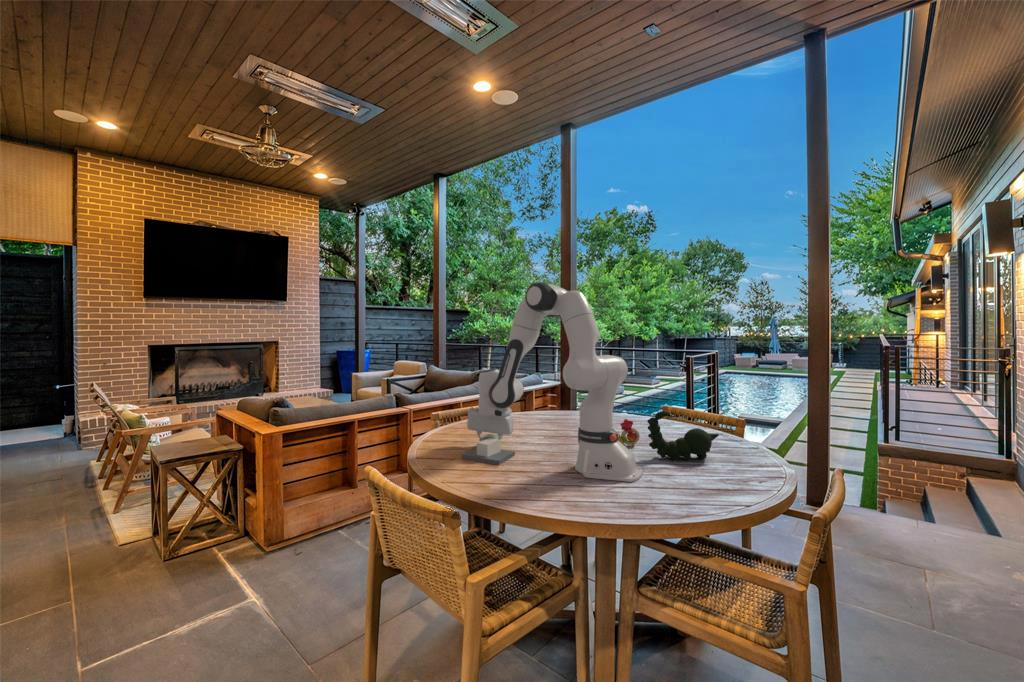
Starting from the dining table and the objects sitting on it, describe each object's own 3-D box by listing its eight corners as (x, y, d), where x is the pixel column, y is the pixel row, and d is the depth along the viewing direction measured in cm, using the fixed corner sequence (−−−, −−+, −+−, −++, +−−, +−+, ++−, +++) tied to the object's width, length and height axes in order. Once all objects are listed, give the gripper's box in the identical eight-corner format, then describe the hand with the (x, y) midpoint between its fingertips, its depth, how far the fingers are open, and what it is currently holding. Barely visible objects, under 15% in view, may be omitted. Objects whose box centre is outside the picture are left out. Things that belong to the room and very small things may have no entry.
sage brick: (498, 445, 183) (498, 434, 183) (493, 450, 175) (493, 439, 175) (486, 444, 184) (486, 433, 184) (481, 450, 176) (481, 439, 176)
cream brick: (500, 451, 169) (500, 439, 169) (487, 456, 162) (487, 444, 162) (489, 449, 172) (489, 437, 171) (476, 454, 165) (476, 442, 165)
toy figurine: (655, 467, 158) (726, 461, 158) (651, 415, 157) (722, 408, 157) (648, 459, 168) (714, 453, 167) (643, 409, 167) (710, 403, 166)
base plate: (514, 455, 168) (514, 451, 168) (499, 464, 158) (499, 460, 158) (479, 449, 176) (479, 446, 176) (461, 458, 165) (461, 454, 165)
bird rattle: (630, 448, 183) (610, 440, 182) (641, 423, 182) (621, 415, 182) (635, 453, 176) (615, 445, 176) (646, 427, 176) (626, 419, 175)
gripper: (463, 408, 181) (464, 441, 182) (507, 413, 171) (508, 448, 172) (472, 405, 186) (472, 437, 187) (515, 409, 177) (515, 444, 177)
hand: (490, 442), depth 179 cm, fingers open, 6 cm apart
